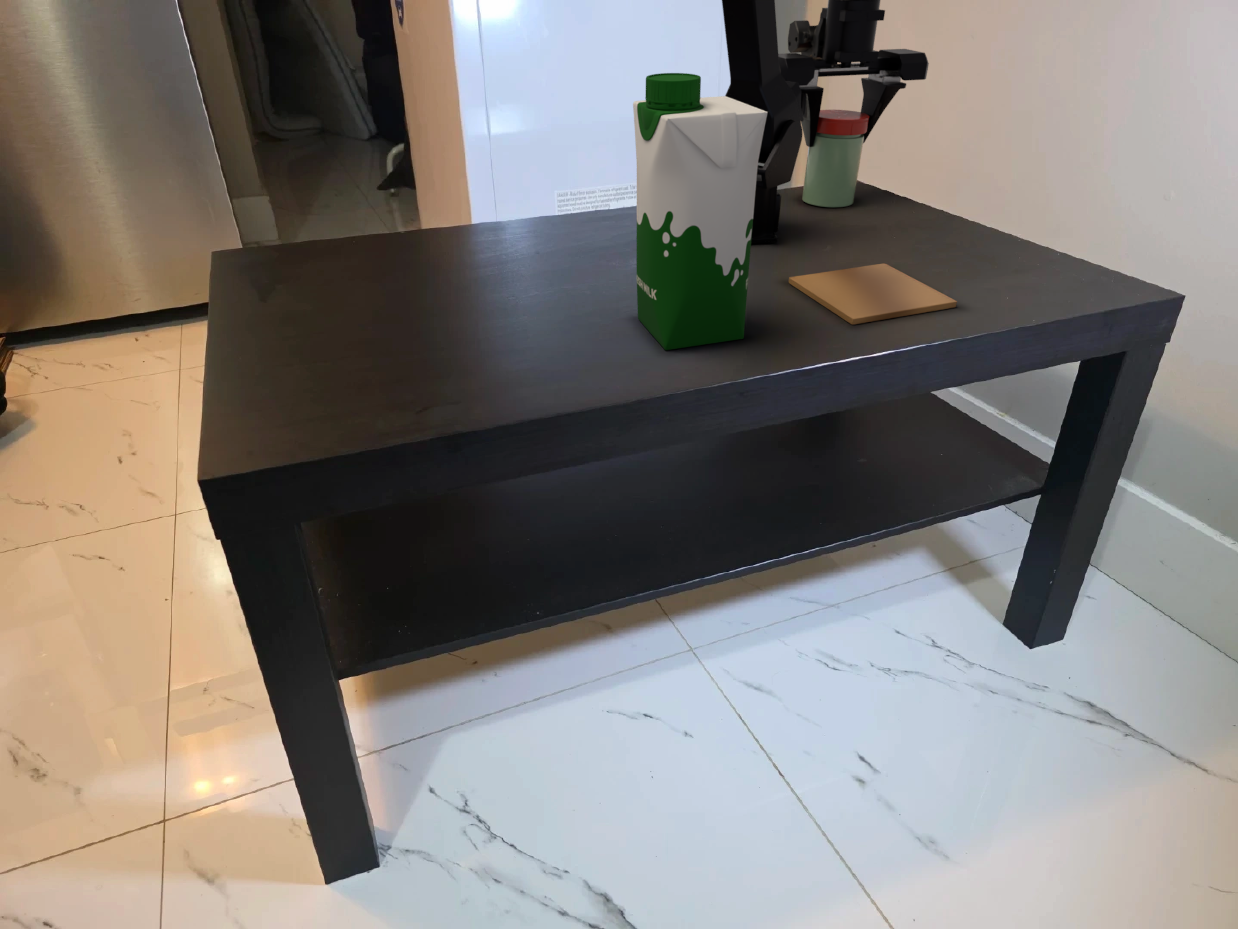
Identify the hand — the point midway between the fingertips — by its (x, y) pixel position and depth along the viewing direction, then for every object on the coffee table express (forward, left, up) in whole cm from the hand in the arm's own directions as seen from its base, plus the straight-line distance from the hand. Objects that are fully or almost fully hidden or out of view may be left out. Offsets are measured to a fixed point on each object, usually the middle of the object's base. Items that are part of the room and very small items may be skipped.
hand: (835, 144), depth 100 cm
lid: (0, 0, +3) cm, 3 cm away
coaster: (-6, -32, -7) cm, 33 cm away
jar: (0, 0, -7) cm, 7 cm away
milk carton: (-24, -38, -7) cm, 45 cm away
